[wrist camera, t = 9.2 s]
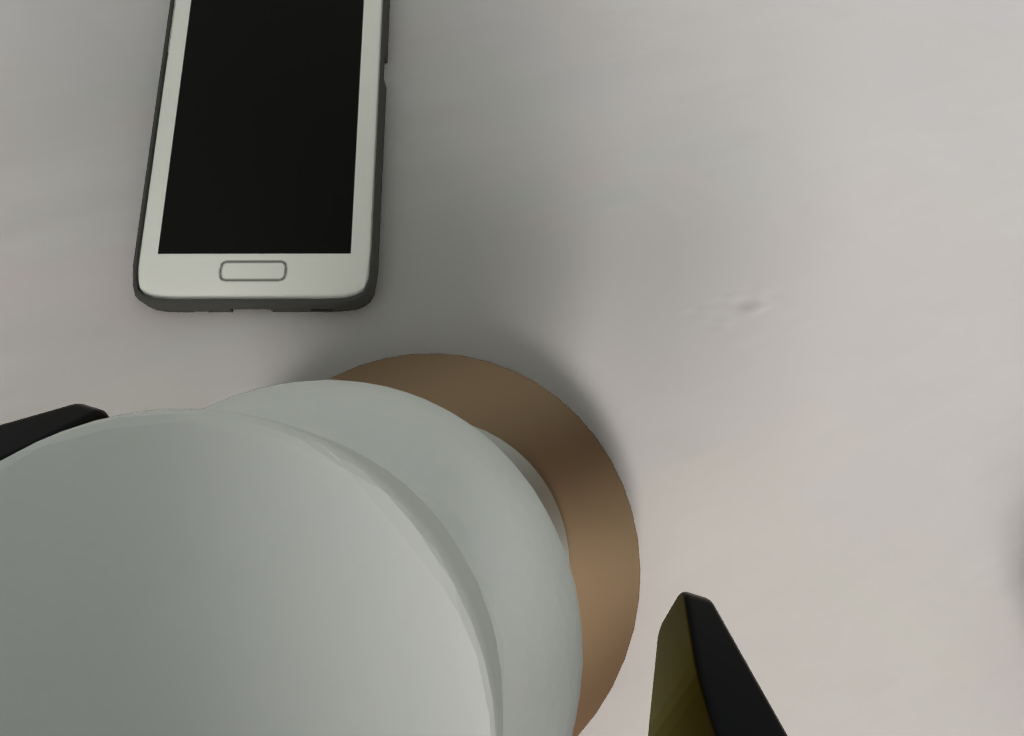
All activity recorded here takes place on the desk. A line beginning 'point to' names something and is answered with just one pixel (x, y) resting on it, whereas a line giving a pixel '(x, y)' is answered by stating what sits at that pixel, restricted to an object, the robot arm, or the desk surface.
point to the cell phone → (265, 157)
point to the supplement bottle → (282, 575)
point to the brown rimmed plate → (546, 491)
